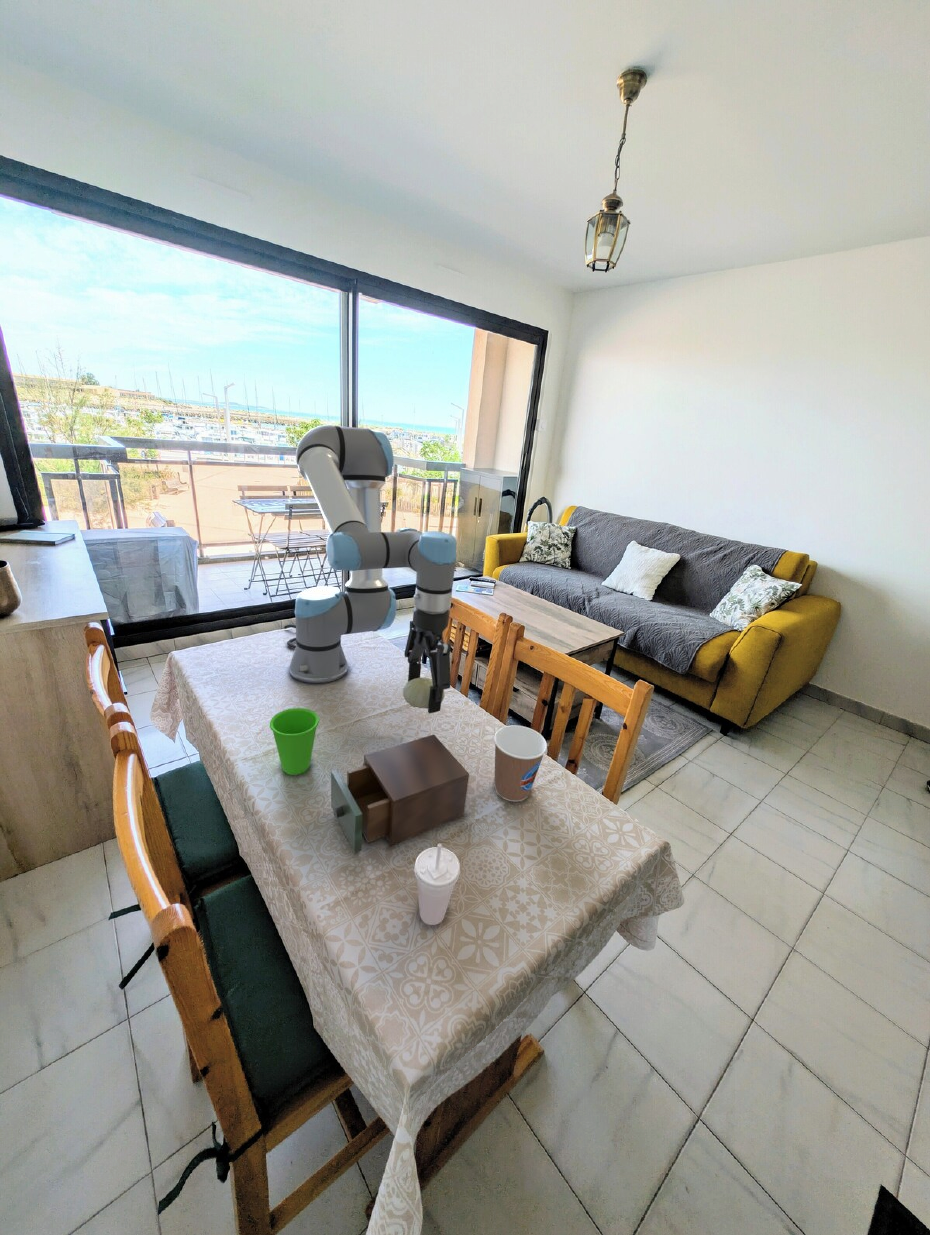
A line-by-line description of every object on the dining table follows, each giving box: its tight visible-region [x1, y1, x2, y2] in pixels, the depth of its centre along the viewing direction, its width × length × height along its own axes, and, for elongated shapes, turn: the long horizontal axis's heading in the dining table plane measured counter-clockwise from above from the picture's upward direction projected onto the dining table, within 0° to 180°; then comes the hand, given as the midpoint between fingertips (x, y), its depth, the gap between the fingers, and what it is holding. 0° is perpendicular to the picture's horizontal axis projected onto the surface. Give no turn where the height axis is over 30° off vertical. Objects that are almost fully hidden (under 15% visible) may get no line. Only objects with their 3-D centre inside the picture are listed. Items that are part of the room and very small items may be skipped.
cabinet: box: [362, 734, 470, 847], centre depth 86 cm, size 15×13×10 cm
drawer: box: [330, 765, 391, 854], centre depth 82 cm, size 15×12×8 cm
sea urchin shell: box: [402, 676, 445, 710], centre depth 105 cm, size 9×8×8 cm
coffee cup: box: [493, 724, 548, 803], centre depth 93 cm, size 10×10×12 cm
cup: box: [269, 707, 320, 776], centre depth 93 cm, size 9×9×11 cm
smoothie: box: [414, 843, 461, 926], centre depth 67 cm, size 6×6×14 cm
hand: (423, 699), depth 106 cm, fingers closed on sea urchin shell, 9 cm apart
